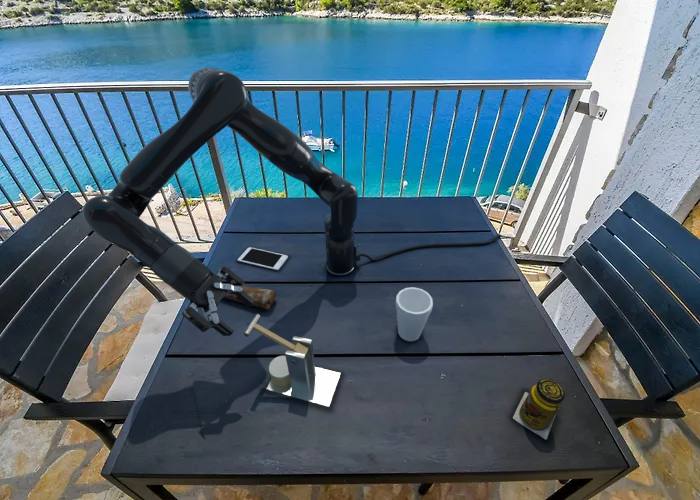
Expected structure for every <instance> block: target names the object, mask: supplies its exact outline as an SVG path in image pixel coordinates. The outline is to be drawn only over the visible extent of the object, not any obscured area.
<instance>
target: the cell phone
mask: <svg viewBox="0 0 700 500" xmlns="http://www.w3.org/2000/svg"><path fill="white" fill-rule="evenodd" d="M288 259H289V256H288V255H287V254H282V253H276V252H274V251H268V250H265V249H260V248H255V247H251V246H250V247H248V248H246V249H245V250H244V252H243V253H242V254H241V255H240V256H239V257H238V258H237V262H240V263H244V264H248V265H253V266H257V267H261V268H265V269H270V270H273V271H279V270H280V269H281V268H282V267H283V265H284V264H285V262H286V261H287V260H288Z"/></svg>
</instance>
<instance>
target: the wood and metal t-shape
mask: <svg viewBox="0 0 700 500" xmlns="http://www.w3.org/2000/svg"><path fill="white" fill-rule="evenodd" d="M261 317H262V316H261V315H260V314H259V313H256V314H255V315H254V317H253V318H252V320H251V321H250V323H249V325H248V326H247V328H246V329H245V331H244V332H243V336H244V337H249V336H250V335H251V333H252V332H253V331H255V332H257V333H259V334H261V335H262V336H265V338H267V339H269V340H272V341H273V342H275V343H277V344H279V345H280V346H282V347H284V348H285V349H286V350H288V351H292V352H296V353H300V354H304V355H306V353H307V351H308V348H307V347H305V346H303V345H302V344H300V343H297V344H296V345H294V344H293V342H291V341H288V340H286V339H285V338H283V337H281V336H279V335H277V334H276V333H274V332H272V331H271V330H269V329H267V328H266V327H263V326H262V325H261V324H258V322H259V321H260V320H261Z"/></svg>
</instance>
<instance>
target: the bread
mask: <svg viewBox="0 0 700 500" xmlns="http://www.w3.org/2000/svg"><path fill="white" fill-rule="evenodd" d="M242 289H243V291H244V292H246V293H247V294H248V295H249V296H250V297H252V299H253V301H254V303H253V304H252V305H251V306H253V307H257V308H261V309H265V310H270V309H271V305H273V303H274V301H275V298H276V296H277V290H274V289H268V288H261V287H251V286H244V285H243V287H242ZM222 299H227V300H230V301H234V302H238V303H242V302H241V301H240V300H238V299H237V298H236V295H225V296H224V297H223V298H222Z"/></svg>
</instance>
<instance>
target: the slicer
mask: <svg viewBox="0 0 700 500" xmlns="http://www.w3.org/2000/svg"><path fill="white" fill-rule="evenodd" d="M291 341H292V344H294V345H296V344H297V343H300V344H302V345H303V346H305V347H307V348H308V351H307V353H306V355H304V354H300V353H296V352H292V351H291V350H289V349H286V351H285V353H284V356H286V361H287V366H288V371H289V376H290V381H291V383H290V384H289V385H287V386H277V385H275V384H274V383H273V382H272V379H271V378H270V381H269V382H268V384H267V387H266V390H268V391H271V392H274V393H278V394H282V395H285V396H289V397H292V398H296V399H300V400H303V401H305V402H309V403H314V404H317V405H321V406H324V407H328V408H329V407H330V405H331V403H332V400H333V397H334V394H335V391H336V388H337V385H338V382H339V379H340V377H341V372H338V371H334V370H329V369H325V368H323V367H318V366H316V362H315V354H314V345H313V340H312V339H310V338H306V337H301V336H297V335H293V337H292V340H291Z"/></svg>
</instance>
